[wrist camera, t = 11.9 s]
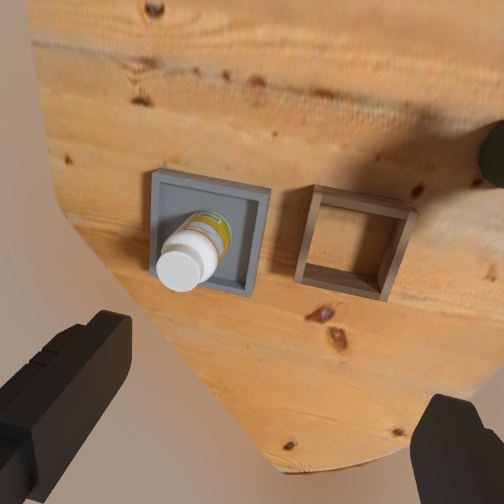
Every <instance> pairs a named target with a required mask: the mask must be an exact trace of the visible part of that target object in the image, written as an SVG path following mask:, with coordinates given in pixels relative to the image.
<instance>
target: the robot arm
mask: <svg viewBox="0 0 504 504" xmlns="http://www.w3.org/2000/svg"><path fill="white" fill-rule="evenodd" d="M131 361H132V319H131V317H130V316H127V315H123V314H119V313H115V312H111V311H107V310H101V311H100V312H98V313H97V314H96V315H95V316H94V317H93V318H92V319H91V321H90V322H89V323H88V324H87V325H86V326H85V325H81V324H76V325H74V326H72V327H70V328H68V329H66V330H64V331H62V332H60V333H58V334H57V335H56V336H55V337H54V338H53V339H51V341H49V342H48V343H47V344H46V345H45V346H44V347H43V348H42V351H41V352H38V353H37V354H36V355H35V356H34V357H33V358H32V359H31V360H29V363H28V364H25V365H24V366H23V367H22V368H21V369H20V370H19V371H18V372H17V373H16V374H15V375H14V376H13V377H12V378H11V379H10V380H8V381H7V382H6V383H5V384H4V385H3V386H2V387H1V388H0V504H23V502H24V501H25V499H26V498H27V499H30V500H33V501H37V502H40V503H44V502H45V501H46V499H47V498H48V496H49V495H50V493H51V492H52V490H53V489H54V487H55V486H56V484H57V483H58V481H59V480H60V478H61V477H62V475H63V473H64V472H65V470H66V469H67V467H68V466H69V464H70V462H71V461H72V460H73V458H74V457H75V455H76V454H77V452H78V450H79V449H80V447H81V446H82V444H83V443H84V442H85V440H86V438H87V437H88V435H89V434H90V433H91V431H92V430H93V428H94V427H95V425H96V423H97V422H98V421H99V419H100V417H101V416H102V414H103V413H104V411H105V410H106V408H107V407H108V405H109V404H110V402H111V401H112V399H113V398H114V396H115V395H116V393H117V392H118V390H119V389H120V387H121V386H122V384H123V383H124V381H125V379H126V377H127V375H128V372H129V369H130V366H131ZM410 457H411V462H412V467H413V471H414V476H415V480H416V484H417V489H418V493H419V497H420V502H421V504H504V443H503V442H502V441H501V440H500V438H499V437H498V436H497V435H496V434H495V433H494V431H493V430H491V429H486V428H484V426H483V424H482V421H481V419H480V417H479V415H478V413H477V411H476V408H475V407H474V405H473V404H472V403H471V402H469V401H466V400H462V399H458V398H454V397H450V396H446V395H442V394H435V395H434V396H433V397H432V399H431V400H430V402H429V404H428V406H427V408H426V410H425V412H424V413H423V415H422V417H421V419H420V421H419V423H418V425H417V426H416V428H415V430H414V432H413V434H412V438H411V443H410Z"/></svg>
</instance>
